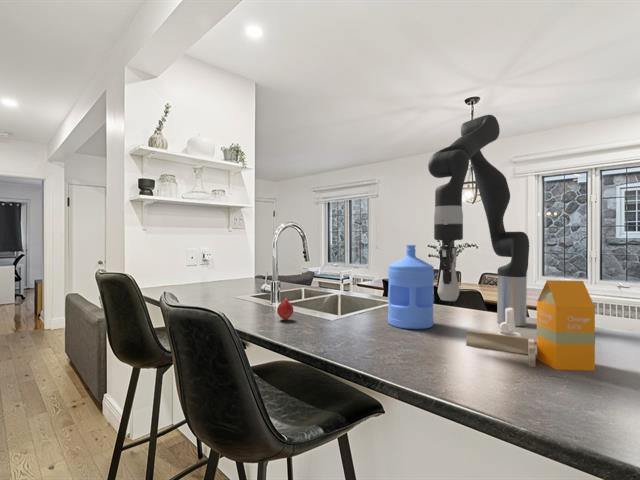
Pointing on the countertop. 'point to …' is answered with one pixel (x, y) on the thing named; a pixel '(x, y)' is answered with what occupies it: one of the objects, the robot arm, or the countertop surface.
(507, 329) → the hook
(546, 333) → the orange juice
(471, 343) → the beige l-shaped block
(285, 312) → the onion
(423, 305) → the water jug
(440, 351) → the countertop surface
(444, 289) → the salt shaker
